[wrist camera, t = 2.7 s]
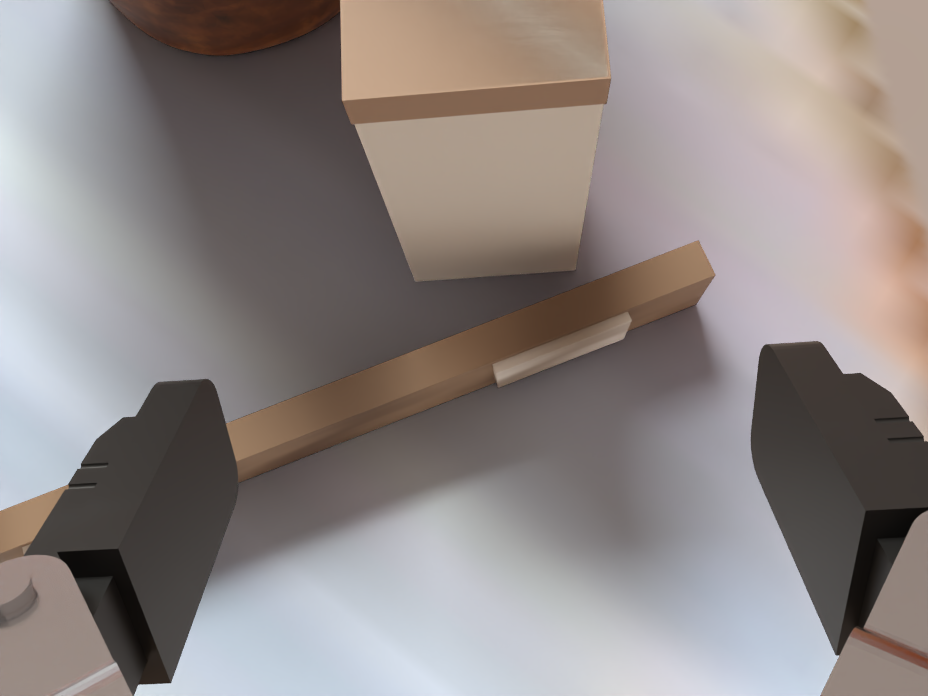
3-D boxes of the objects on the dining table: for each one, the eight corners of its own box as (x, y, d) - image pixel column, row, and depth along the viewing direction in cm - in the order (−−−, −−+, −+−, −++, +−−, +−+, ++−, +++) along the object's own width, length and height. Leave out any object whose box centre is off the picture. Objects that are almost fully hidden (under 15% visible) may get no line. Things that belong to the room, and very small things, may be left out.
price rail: (18, 578, 28) (-41, 579, 25) (8, 534, 28) (-50, 530, 25) (700, 312, 29) (719, 283, 26) (681, 272, 29) (698, 240, 26)
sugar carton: (576, 271, 29) (610, 78, 18) (414, 283, 30) (342, 101, 18) (564, 123, 31) (587, -146, 19) (408, 135, 31) (338, -122, 19)
